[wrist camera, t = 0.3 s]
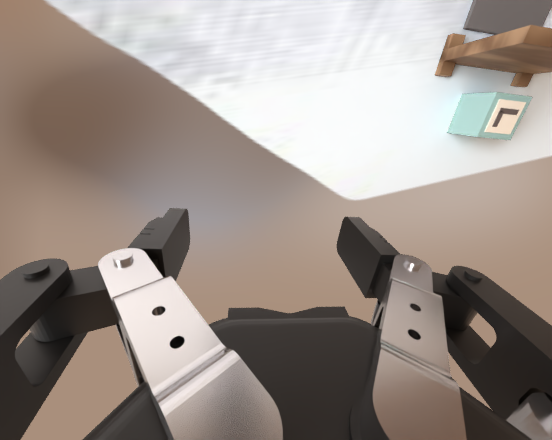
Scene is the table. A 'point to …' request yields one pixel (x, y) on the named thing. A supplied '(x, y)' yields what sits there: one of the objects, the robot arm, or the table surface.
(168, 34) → the table surface
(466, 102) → the letter cube
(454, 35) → the wooden footed board
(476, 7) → the mat
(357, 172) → the table surface
